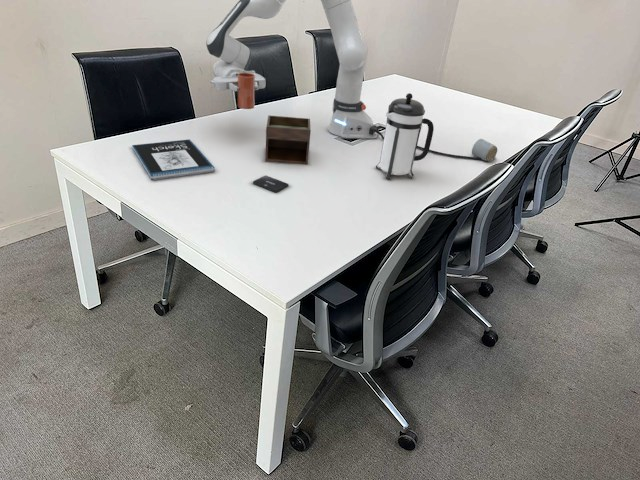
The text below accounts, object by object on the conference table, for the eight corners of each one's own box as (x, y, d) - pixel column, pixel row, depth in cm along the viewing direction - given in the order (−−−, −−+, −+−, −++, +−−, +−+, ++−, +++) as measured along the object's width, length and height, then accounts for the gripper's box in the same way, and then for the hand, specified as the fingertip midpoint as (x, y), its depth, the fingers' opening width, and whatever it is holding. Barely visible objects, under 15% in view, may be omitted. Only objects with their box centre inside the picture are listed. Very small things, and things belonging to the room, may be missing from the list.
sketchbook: (189, 142, 182) (189, 137, 181) (215, 173, 161) (215, 167, 160) (132, 148, 172) (131, 142, 171) (152, 181, 151) (151, 175, 150)
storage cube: (307, 151, 186) (309, 118, 178) (307, 164, 175) (310, 130, 167) (267, 148, 184) (268, 115, 177) (265, 161, 173) (266, 126, 166)
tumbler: (254, 104, 183) (255, 73, 177) (253, 109, 178) (254, 77, 172) (238, 103, 183) (238, 72, 176) (237, 108, 177) (236, 76, 171)
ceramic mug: (485, 163, 193) (491, 146, 188) (469, 156, 198) (474, 139, 194) (499, 159, 199) (505, 142, 195) (483, 152, 204) (488, 136, 200)
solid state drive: (276, 192, 152) (276, 190, 152) (252, 183, 157) (252, 181, 156) (288, 185, 158) (288, 183, 157) (265, 176, 162) (265, 175, 161)
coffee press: (407, 186, 167) (425, 103, 150) (367, 173, 173) (381, 92, 157) (424, 171, 179) (442, 93, 163) (387, 160, 186) (401, 84, 170)
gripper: (208, 71, 179) (220, 81, 169) (257, 70, 189) (271, 78, 179) (209, 88, 183) (221, 98, 173) (257, 85, 192) (271, 95, 182)
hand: (247, 88), depth 176 cm, fingers closed on tumbler, 6 cm apart
